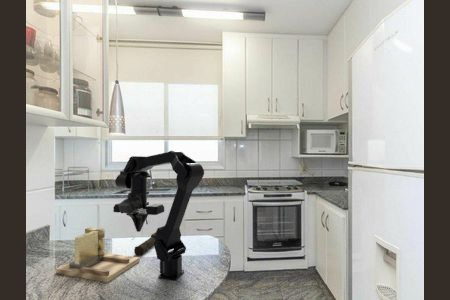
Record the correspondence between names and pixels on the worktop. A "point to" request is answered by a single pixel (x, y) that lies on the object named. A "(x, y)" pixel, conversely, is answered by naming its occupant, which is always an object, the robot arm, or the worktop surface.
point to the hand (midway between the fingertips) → (138, 231)
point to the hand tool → (145, 245)
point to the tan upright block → (87, 250)
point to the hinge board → (101, 264)
